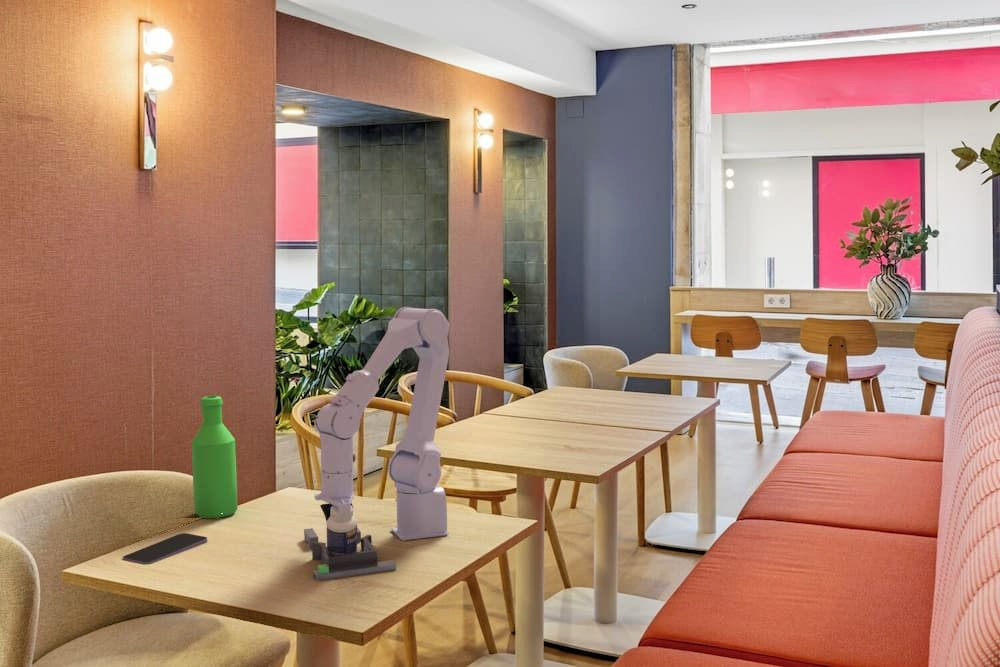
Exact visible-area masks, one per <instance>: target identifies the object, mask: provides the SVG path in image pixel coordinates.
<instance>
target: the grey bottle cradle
mask: <svg viewBox="0 0 1000 667" xmlns="http://www.w3.org/2000/svg"><path fill="white" fill-rule="evenodd" d="M372 542H373V541H372V534H371V535H370V534H367V535H364V536H363V537H361V542H360V551H357V552H354V553H347V554H339V555H332V554H331V553H330V551H329V550H328V548H327V542H322V541H321V542H320V541H318V542H313V543H312V548H311V554H312V555H311V558H312V560H319V561H320V562H321V564H318V565H317V570H313V571H312V573H313V574H312V575H313V579H314V580H315V582H319V581H326V580H334V579H341V578H348V577H354V576H361V575H367V574H376V573H382V572H383V573H384V572H390V571H396V570H397V563H396V562H395V561H394V560H392V559H390V560H384V561H378V549H376V547H374V545H373V543H372Z"/></svg>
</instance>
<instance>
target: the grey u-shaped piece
mask: <svg viewBox="0 0 1000 667" xmlns="http://www.w3.org/2000/svg"><path fill="white" fill-rule="evenodd" d="M303 536H304V537H303V538H304V541H305V543H306V545H307V547H308V548H309V549H312V543H313V542H319V536H318V535H317V533H316V532H315V530H314V529H313V528H311V527H310V528H304V529H303ZM361 538H362V532H361V530H360V528H358V527H357V544H358V543H361Z"/></svg>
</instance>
